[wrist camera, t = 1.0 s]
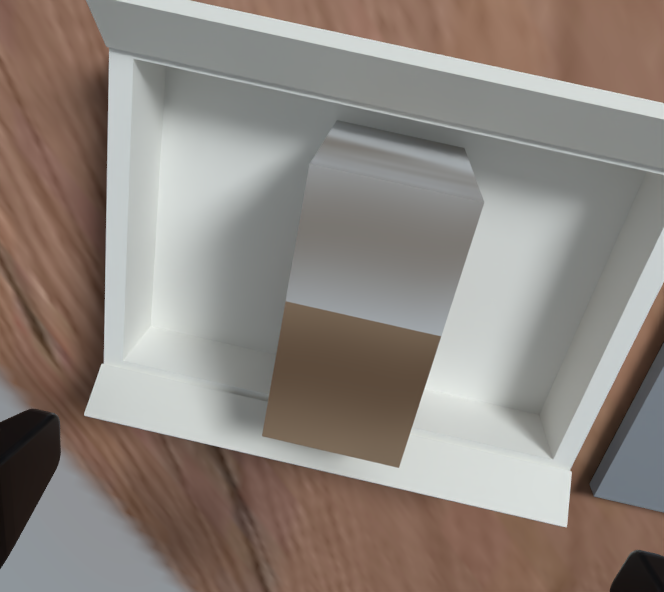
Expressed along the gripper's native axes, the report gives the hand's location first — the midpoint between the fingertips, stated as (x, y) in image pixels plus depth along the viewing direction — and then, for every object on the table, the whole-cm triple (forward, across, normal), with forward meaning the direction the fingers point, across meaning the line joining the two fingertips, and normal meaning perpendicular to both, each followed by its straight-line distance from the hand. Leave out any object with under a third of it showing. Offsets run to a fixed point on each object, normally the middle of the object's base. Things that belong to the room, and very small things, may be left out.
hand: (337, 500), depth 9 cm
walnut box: (+10, 0, 0) cm, 10 cm away
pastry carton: (+10, 0, 0) cm, 10 cm away
